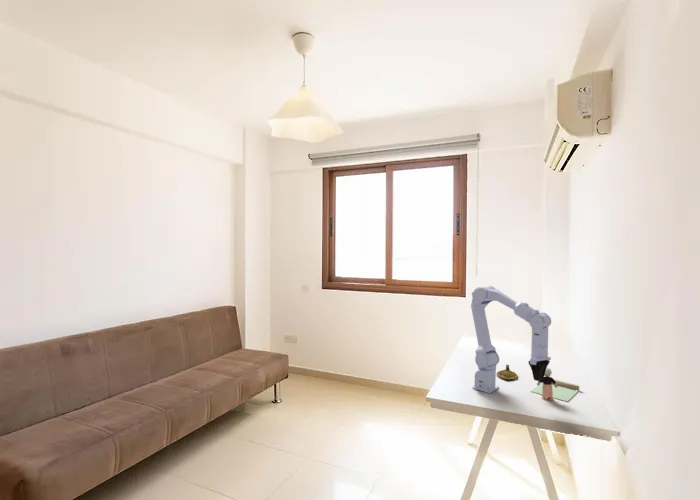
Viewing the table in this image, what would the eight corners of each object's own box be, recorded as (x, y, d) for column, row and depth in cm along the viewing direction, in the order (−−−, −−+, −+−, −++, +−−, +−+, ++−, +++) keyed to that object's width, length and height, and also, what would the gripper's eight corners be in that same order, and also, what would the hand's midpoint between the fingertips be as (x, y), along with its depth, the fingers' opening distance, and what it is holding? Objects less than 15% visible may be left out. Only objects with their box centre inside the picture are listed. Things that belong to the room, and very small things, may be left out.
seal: (518, 385, 168) (516, 375, 182) (519, 375, 168) (518, 365, 181) (496, 380, 171) (496, 370, 185) (497, 370, 171) (497, 361, 185)
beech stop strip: (578, 391, 159) (578, 386, 159) (543, 382, 169) (543, 378, 169) (579, 390, 160) (579, 385, 160) (544, 381, 170) (544, 377, 170)
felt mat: (567, 402, 147) (567, 401, 147) (530, 391, 157) (530, 391, 157) (578, 391, 159) (578, 390, 159) (543, 382, 169) (543, 382, 169)
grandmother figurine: (552, 397, 152) (553, 366, 152) (558, 400, 148) (559, 369, 148) (534, 396, 152) (535, 366, 152) (539, 400, 148) (540, 369, 148)
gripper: (544, 350, 135) (543, 386, 135) (556, 343, 145) (555, 377, 145) (524, 346, 140) (523, 381, 140) (537, 339, 150) (536, 373, 150)
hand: (538, 379), depth 143 cm, fingers open, 3 cm apart
